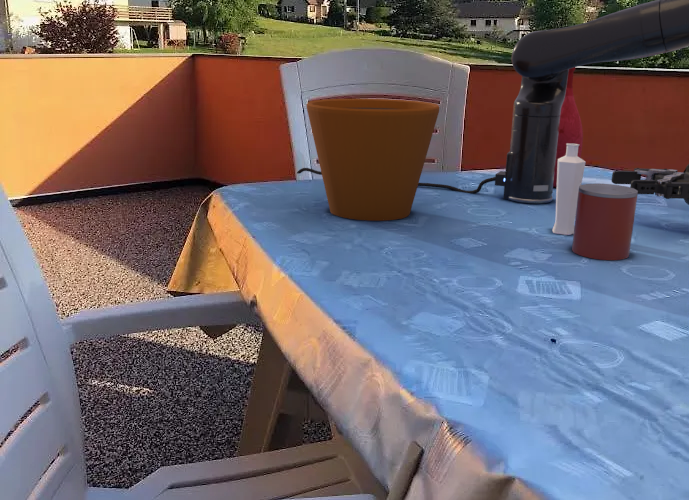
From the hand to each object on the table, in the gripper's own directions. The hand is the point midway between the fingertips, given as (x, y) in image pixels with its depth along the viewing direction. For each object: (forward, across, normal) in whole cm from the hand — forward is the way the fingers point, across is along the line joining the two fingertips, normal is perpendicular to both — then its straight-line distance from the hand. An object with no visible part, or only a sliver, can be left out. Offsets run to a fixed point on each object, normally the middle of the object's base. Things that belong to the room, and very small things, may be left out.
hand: (621, 182), depth 119 cm
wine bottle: (-2, -44, +9) cm, 45 cm away
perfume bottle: (+9, 0, +9) cm, 13 cm away
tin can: (+7, +12, +9) cm, 16 cm away
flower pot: (+42, -12, +9) cm, 44 cm away
